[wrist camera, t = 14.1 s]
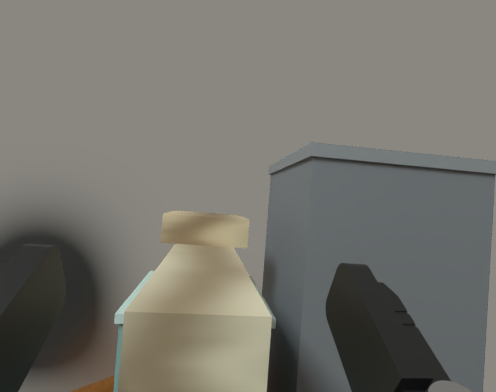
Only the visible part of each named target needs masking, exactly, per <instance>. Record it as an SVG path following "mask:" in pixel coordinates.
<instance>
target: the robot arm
mask: <svg viewBox="0 0 496 392" xmlns="http://www.w3.org/2000/svg"><path fill="white" fill-rule="evenodd" d="M65 298H66V283H65V278H64V273H63V266H62V261H61V256H60V251H59V248H58V247H57V246H53V245H36V244H35V245H34V244H24V245H23V246H21V247H20V248H19V250H18V251H17V252H16V253H15V254H14V255H13V256H12V258H11V259H10V260H9V261H8V262H7V263H5V262H0V392H18V391H19V389H20V387H21V385H22V383H23V381H24V379H25V378H26V376H27V374H28V372H29V370H30V368H31V366H32V364H33V363H34V361H35V359H36V357H37V355H38V353H39V351H40V350H41V348H42V346H43V344H44V342H45V340H46V338H47V337H48V335H49V333H50V331H51V329H52V327H53V325H54V323H55V322H56V320H57V318H58V316H59V314H60V312H61V310H62V308H63V306H64V302H65ZM326 318H327V321H328V324H329V327H330V330H331V333H332V336H333V339H334V342H335V345H336V347H337V350H338V353H339V356H340V359H341V362H342V365H343V368H344V371H345V373H346V376H347V379H348V382H349V385H350V388H351V391H352V392H472V391H471V390H469V389H467V388H466V387H464V386H462V385H460V384H458V383H455V382H452V381H451V380H450V378H449V377H448V375H447V373H446V372H445V370H444V369H443V367H442V366H441V364H440V362H439V361H438V359H437V358H436V356H435V354H434V353H433V351H432V350H431V348H430V346H429V345H428V343H427V342H426V340H425V338H424V337H423V335H422V334H421V332H420V330H419V329H418V327H416V326H415V322H414V321H413V319H412V318H411V316H410V314H407V310H406V308H405V306H404V305H403V303H402V302H401V300H400V298H399V297H398V296H397V295H396V294H395V293H394V292H393V291H392V290H391V289H390V288H389V287H388V286H387V285H385V284H384V283H382V282H377V280H376V278H375V277H374V275H373V273H372V272H371V270H370V268H369V267H368V266H367V265H365V264H351V263H340V264H339V265H338V267H337V270H336V273H335V276H334V279H333V281H332V284H331V287H330V290H329V293H328V296H327V299H326Z"/></svg>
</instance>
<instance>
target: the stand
mask: <svg viewBox="0 0 496 392" xmlns="http://www.w3.org/2000/svg"><path fill="white" fill-rule="evenodd" d="M269 174H270V175H271V182H270V195H269V208H268V222H267V234H266V248H265V261H264V274H263V289H262V296H263V298H264V299H265V301H266V303H267V305H268V306H269V308H270V310H271V311H272V313H273V315H274V317H275V318H276V327H275V329H274V328H271V338H270V352H269V365H268V379H267V392H352V391H351V388H350V385H349V382H348V379H347V376H346V373H345V371H344V368H343V365H342V362H341V359H340V356H339V353H338V350H337V347H336V345H335V342H334V339H333V336H332V333H331V330H330V327H329V324H328V321H327V318H326V299H327V296H328V293H329V290H330V287H331V284H332V281H333V279H334V276H335V273H336V270H337V267H338V265H339V264H340V263H351V264H365V265H367V266H368V267H369V268H370V270H371V272H372V273H373V275H374V277H375V278H376V280H377V282H382V283H384V284H385V285H387V286H388V287H389V288H390V289H391V290H392V291H393V292H394V293H395V294H396V295H397V296H398V297H399V298H400V300H401V302H402V303H403V305H404V306H405V308H406V310H407V314H410V316H411V318H412V319H413V321H414V322H415V326H416V327H418V329H419V330H420V332H421V334H422V335H423V337H424V338H425V340H426V342H427V343H428V345H429V346H430V348H431V350H432V351H433V353H434V354H435V356H436V358H437V359H438V361H439V362H440V364H441V366H442V367H443V369H444V370H445V372H446V373H447V375H448V377H449V378H450V380H451V381H452V382H455V383H458V384H460V385H462V386H464V387H466V388H467V389H469V390H471V391H472V392H483V379H484V362H485V343H486V327H487V326H486V325H487V310H488V292H489V274H490V257H491V240H492V239H491V238H492V222H493V221H492V220H493V205H494V187H495V175H496V161H489V160H480V159H471V158H461V157H451V156H441V155H432V154H421V153H412V152H402V151H392V150H383V149H373V148H363V147H353V146H344V145H334V144H324V143H314V142H312V143H310V144H308V145H306V146H304V147H303V148H301V149H299V150H297V151H296V152H294V153H292V154H290V155H288V156H287V157H285V158H283V159H281V160H280V161H278V162H276V163H274V164H273V165H271V166H269Z"/></svg>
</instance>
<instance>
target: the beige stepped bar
mask: <svg viewBox="0 0 496 392" xmlns="http://www.w3.org/2000/svg"><path fill="white" fill-rule="evenodd" d="M248 233H249V220H248V219H246V218H244V217H242V216H240V215H230V214H216V213H201V212H188V211H171V212H168V213H164V214H163V221H162V233H161V243H171V244H175V245H174V247H173V248H172V249H171V251H170V252H169V253H168V254H167V256H166V257H165V259H164V260H163V261H162V262H161V264H160V265H159V266H158V268H157V269H156V270H155V272H154V273H153V274H152V276H151V277H150V278H149V280H148V281H147V282H146V284H145V285H144V286H143V288H142V289H141V290H140V292H139V293H138V294H137V296H136V297H135V298H134V300H133V301H132V302H131V303H130V305H129V306H128V307H127V309H126V310H125V311H124V322H123V334H122V346H121V357H120V369H119V381H118V392H267V379H268V365H269V352H270V338H271V325H272V316H271V314H270V312H269V310H268V309H267V307H266V305H265V303H264V301H263V300H262V298H261V296H260V294H259V292H258V291H257V289H256V287H255V285H254V283H253V282H252V280H251V278H250V276H249V275H248V273H247V271H246V269H245V267H244V266H243V264H242V262H241V260H240V258H239V257H238V255H237V253H236V251H235V249H234V248H233V247H237V248H238V247H239V248H247V246H248Z"/></svg>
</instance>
